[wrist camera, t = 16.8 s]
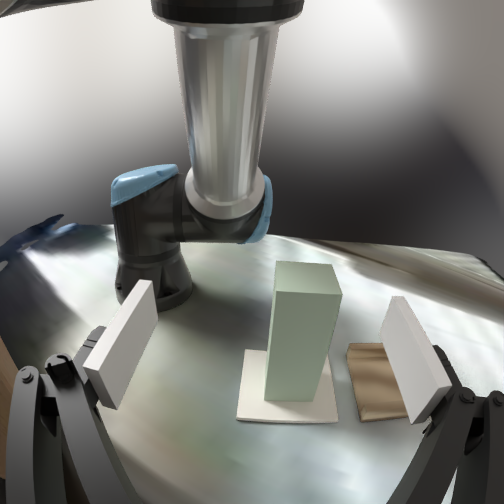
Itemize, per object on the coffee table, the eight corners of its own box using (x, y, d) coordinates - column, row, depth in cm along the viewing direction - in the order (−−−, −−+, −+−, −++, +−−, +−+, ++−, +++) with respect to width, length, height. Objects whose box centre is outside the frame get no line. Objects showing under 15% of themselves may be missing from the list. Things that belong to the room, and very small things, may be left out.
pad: (245, 352, 41) (245, 349, 41) (326, 356, 40) (327, 353, 40) (236, 419, 30) (236, 417, 30) (337, 422, 29) (338, 420, 29)
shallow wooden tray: (345, 355, 40) (349, 343, 39) (419, 352, 40) (424, 341, 39) (360, 422, 29) (367, 411, 28) (445, 410, 29) (453, 398, 28)
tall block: (265, 366, 38) (276, 260, 31) (309, 368, 37) (331, 264, 31) (263, 400, 32) (276, 290, 26) (312, 401, 32) (342, 294, 25)
